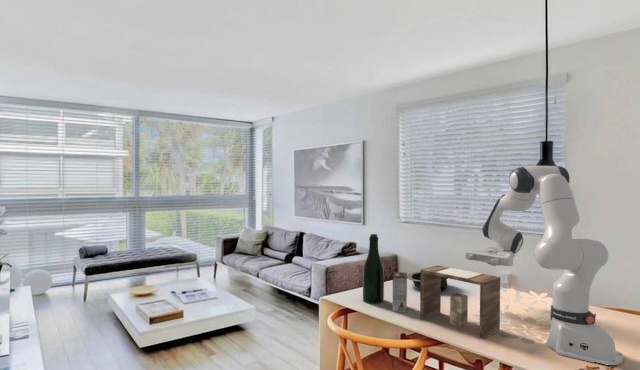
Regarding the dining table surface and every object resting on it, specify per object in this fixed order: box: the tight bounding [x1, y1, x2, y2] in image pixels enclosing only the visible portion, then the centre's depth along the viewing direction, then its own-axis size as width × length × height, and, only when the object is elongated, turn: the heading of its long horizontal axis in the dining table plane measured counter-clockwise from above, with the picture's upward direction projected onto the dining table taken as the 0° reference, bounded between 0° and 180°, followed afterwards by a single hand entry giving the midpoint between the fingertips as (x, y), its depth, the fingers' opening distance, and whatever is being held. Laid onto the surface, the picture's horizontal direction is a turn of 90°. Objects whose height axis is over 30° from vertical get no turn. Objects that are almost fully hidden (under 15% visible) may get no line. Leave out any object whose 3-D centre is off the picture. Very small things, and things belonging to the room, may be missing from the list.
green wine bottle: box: [362, 233, 385, 304], centre depth 195 cm, size 10×10×33 cm
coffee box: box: [392, 271, 408, 313], centre depth 183 cm, size 9×6×16 cm
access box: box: [419, 265, 501, 339], centre depth 164 cm, size 28×14×21 cm, turn 41°
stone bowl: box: [407, 270, 449, 291], centre depth 220 cm, size 25×25×9 cm
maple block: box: [449, 292, 469, 328], centre depth 164 cm, size 5×5×12 cm
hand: (480, 259), depth 176 cm, fingers open, 8 cm apart
